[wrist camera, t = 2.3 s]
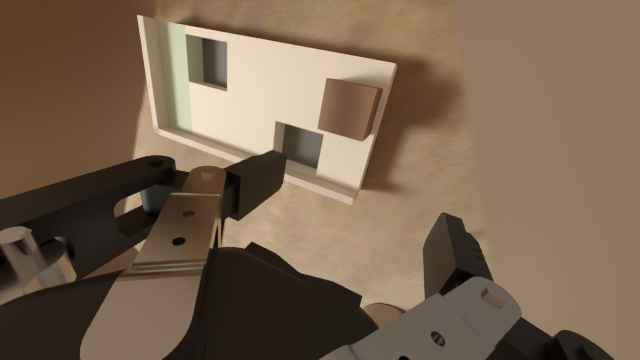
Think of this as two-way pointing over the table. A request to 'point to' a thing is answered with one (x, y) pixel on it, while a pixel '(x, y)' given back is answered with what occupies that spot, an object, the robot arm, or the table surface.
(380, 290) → the table surface
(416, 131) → the table surface
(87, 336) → the robot arm
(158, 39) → the tray
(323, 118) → the block
